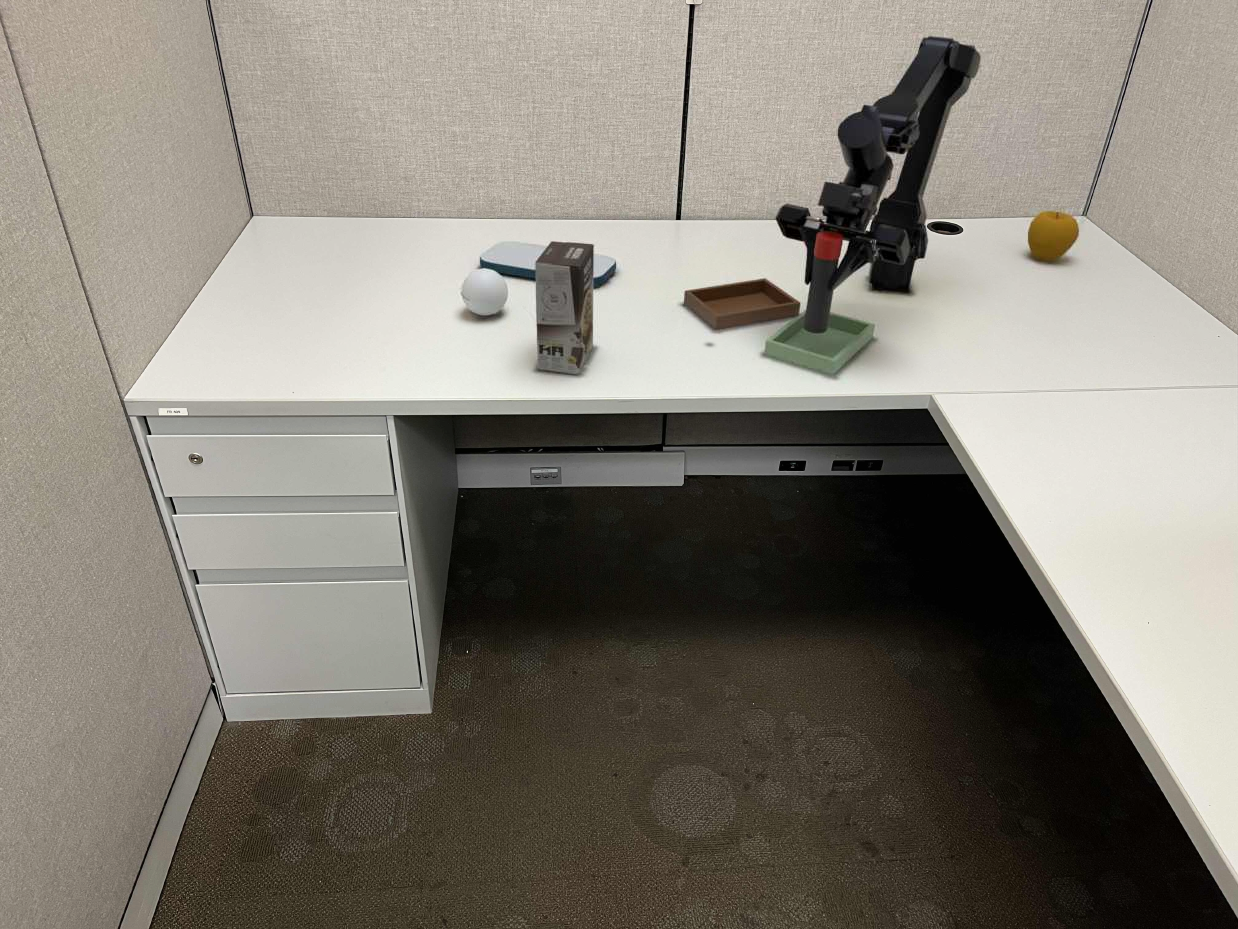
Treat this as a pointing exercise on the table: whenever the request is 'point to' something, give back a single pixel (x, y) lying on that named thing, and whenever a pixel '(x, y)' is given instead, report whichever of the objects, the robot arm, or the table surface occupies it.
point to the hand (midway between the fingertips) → (818, 286)
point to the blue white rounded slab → (523, 258)
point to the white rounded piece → (484, 292)
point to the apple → (1052, 235)
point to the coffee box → (564, 306)
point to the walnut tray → (741, 303)
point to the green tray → (820, 343)
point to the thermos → (822, 281)
